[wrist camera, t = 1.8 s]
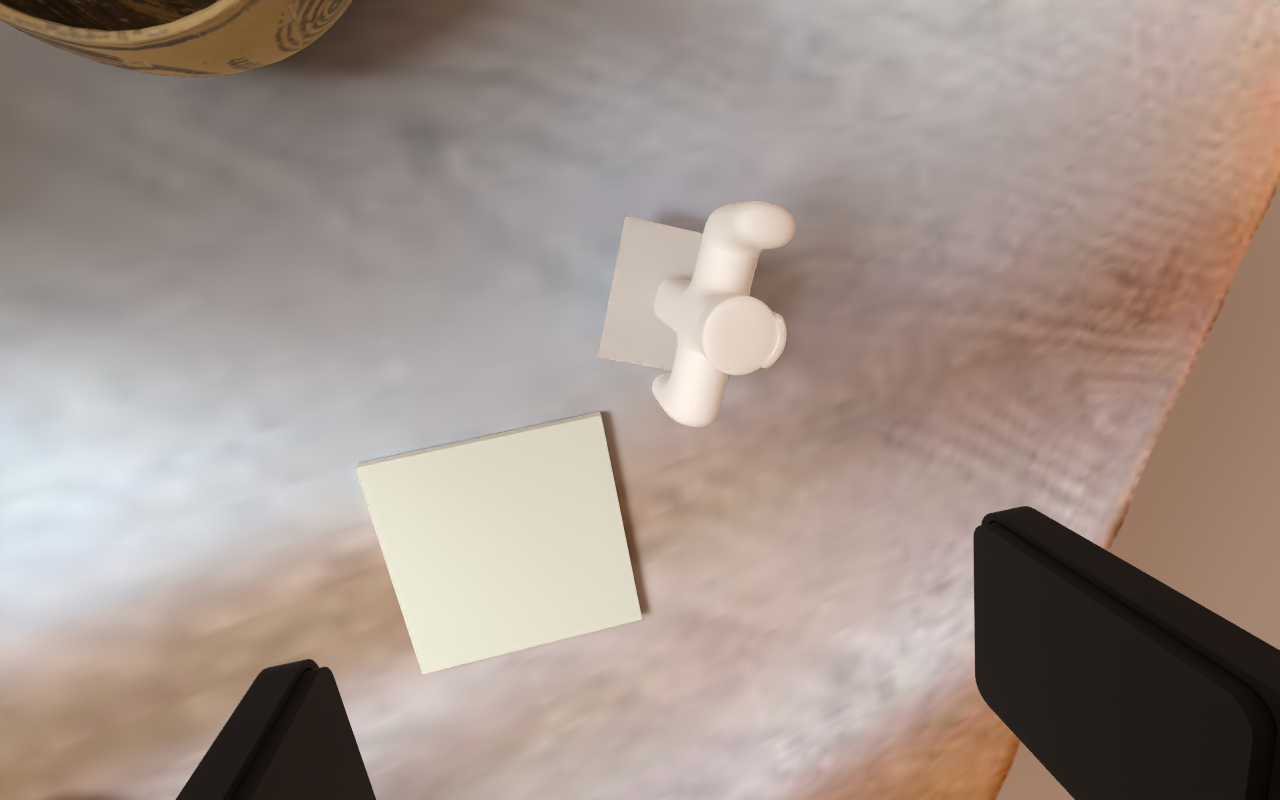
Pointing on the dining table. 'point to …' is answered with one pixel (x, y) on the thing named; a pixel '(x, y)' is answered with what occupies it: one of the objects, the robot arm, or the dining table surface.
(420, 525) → the cream board
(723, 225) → the figurine
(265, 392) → the dining table surface
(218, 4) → the tan round basket
